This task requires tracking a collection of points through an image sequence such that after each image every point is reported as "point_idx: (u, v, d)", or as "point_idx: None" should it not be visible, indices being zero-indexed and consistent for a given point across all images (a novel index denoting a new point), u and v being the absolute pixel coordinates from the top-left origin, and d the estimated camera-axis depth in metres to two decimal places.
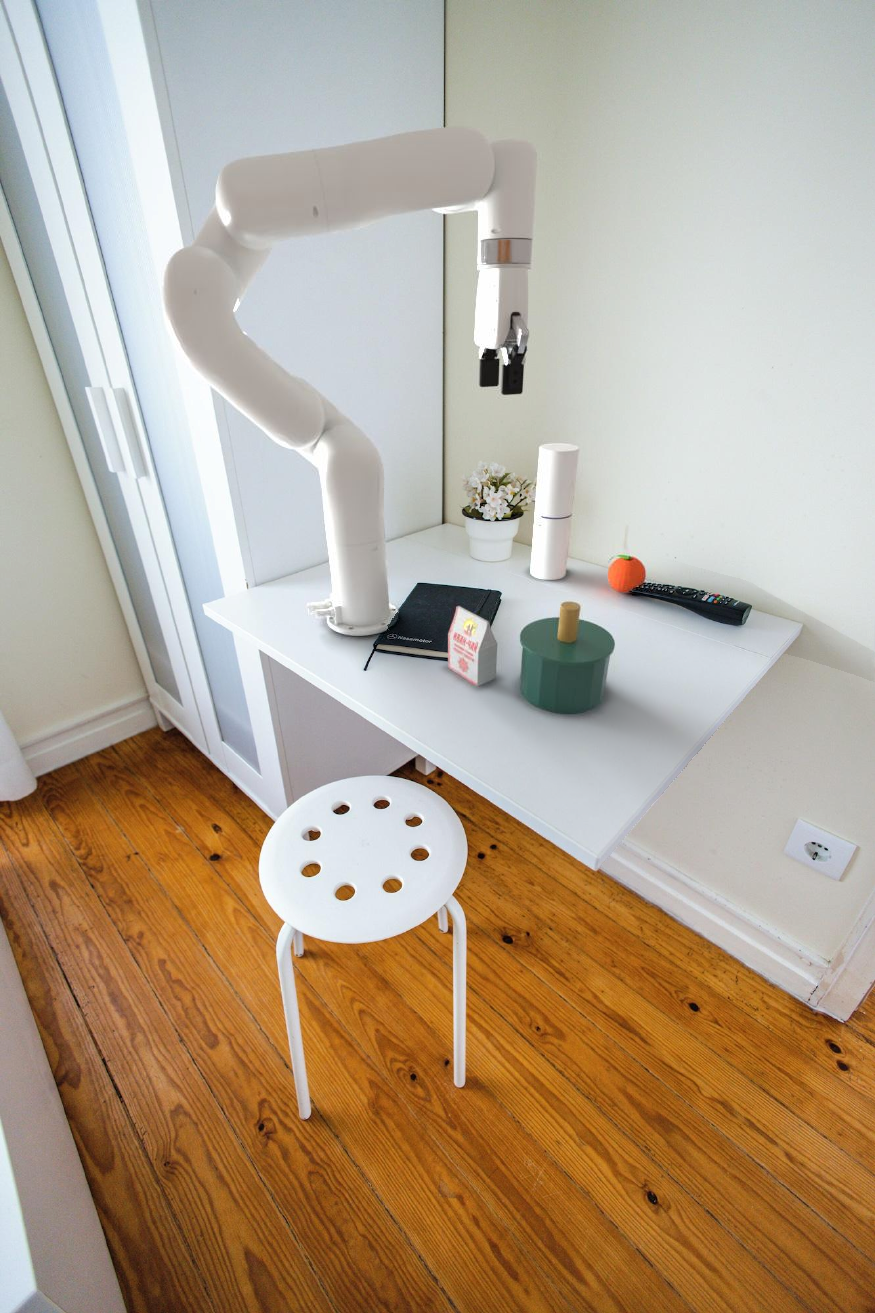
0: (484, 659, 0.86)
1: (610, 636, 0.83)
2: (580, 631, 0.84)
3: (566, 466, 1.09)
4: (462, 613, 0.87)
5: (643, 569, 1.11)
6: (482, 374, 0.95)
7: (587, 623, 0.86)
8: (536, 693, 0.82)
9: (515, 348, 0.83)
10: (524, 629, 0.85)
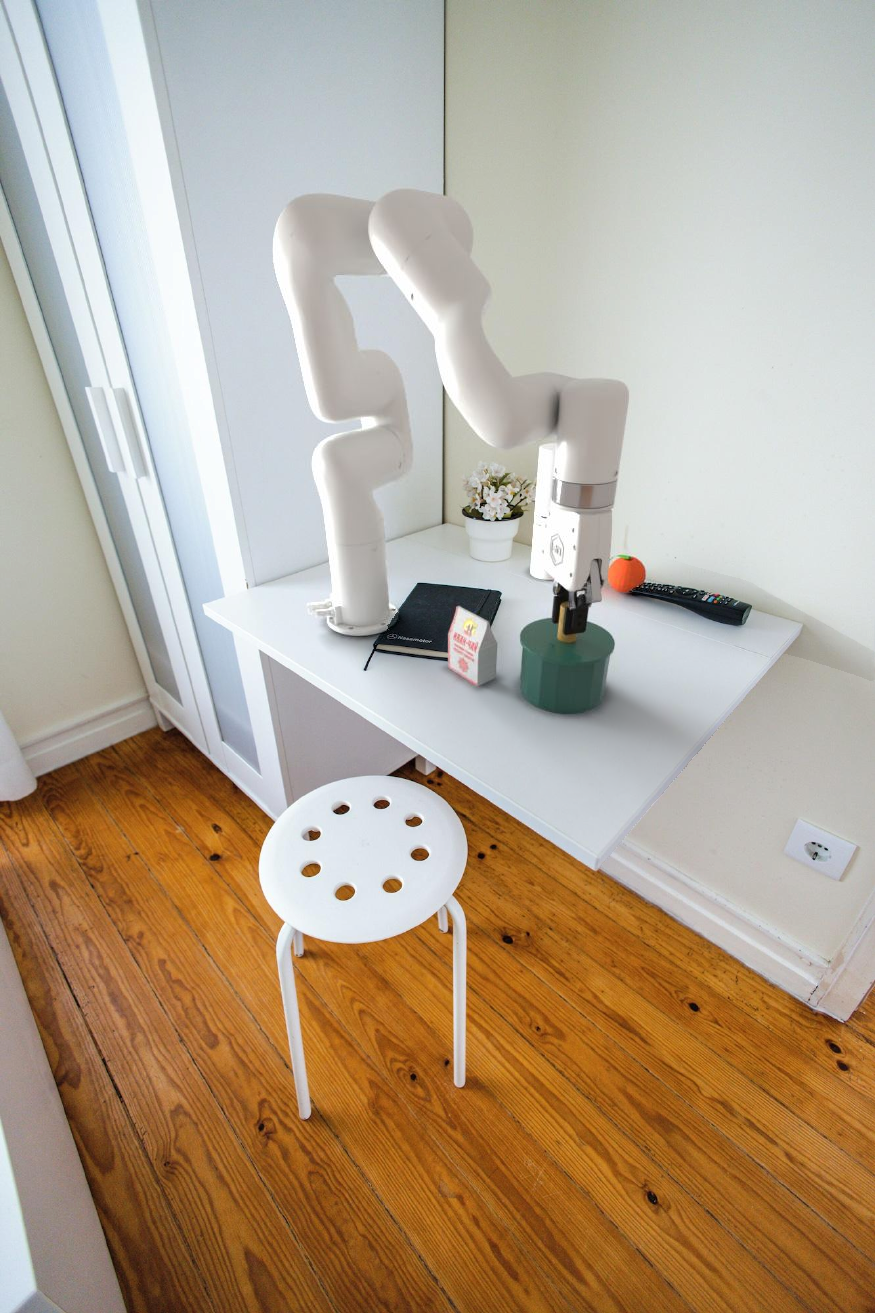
0: (484, 659, 0.86)
1: (610, 636, 0.83)
2: None
3: None
4: (461, 613, 0.87)
5: (643, 569, 1.11)
6: (556, 612, 0.81)
7: (587, 623, 0.86)
8: (536, 693, 0.82)
9: (582, 599, 0.74)
10: (524, 629, 0.85)
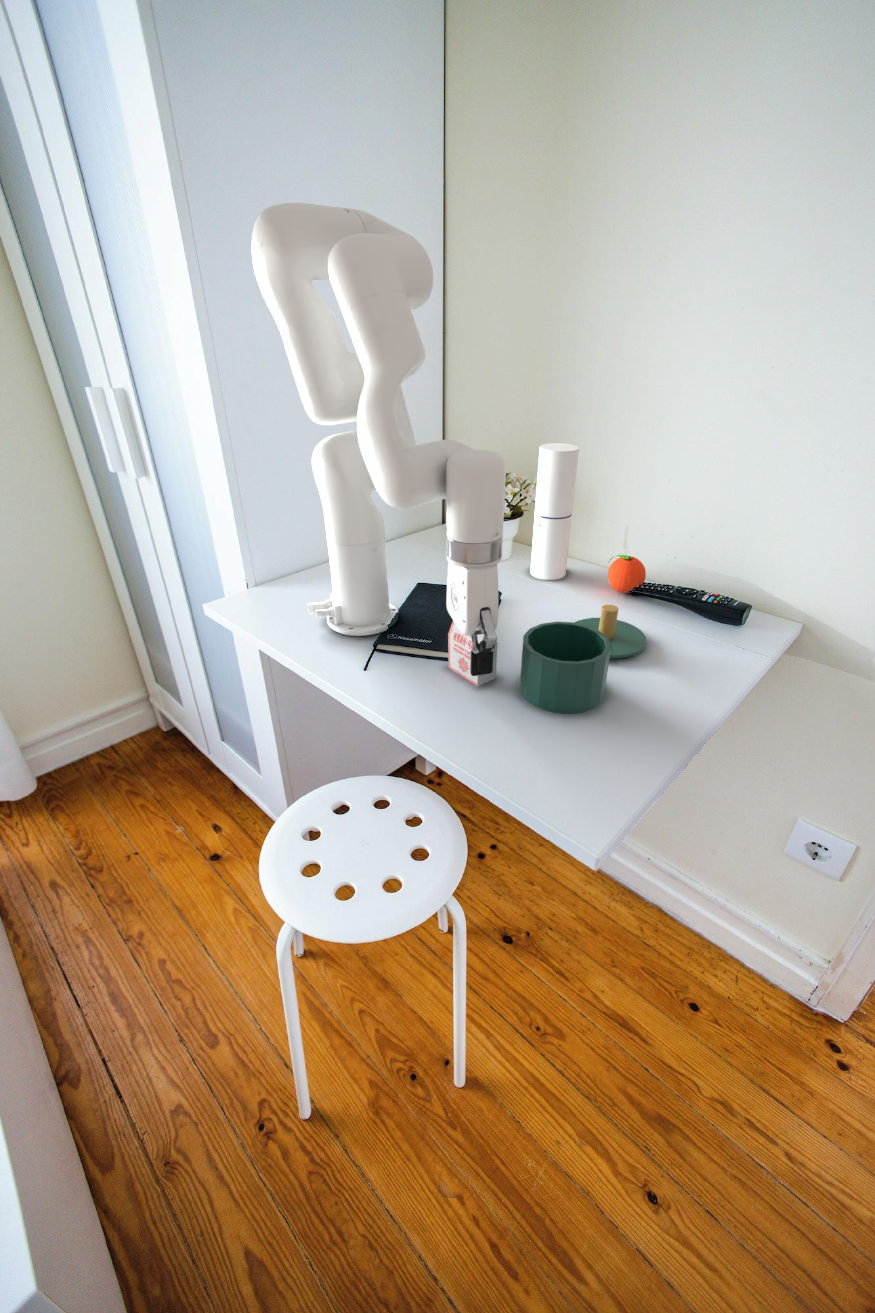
0: None
1: (642, 633, 0.98)
2: (616, 629, 1.00)
3: (566, 466, 1.09)
4: None
5: (643, 569, 1.11)
6: None
7: (622, 623, 1.02)
8: (536, 693, 0.82)
9: (483, 645, 0.81)
10: None
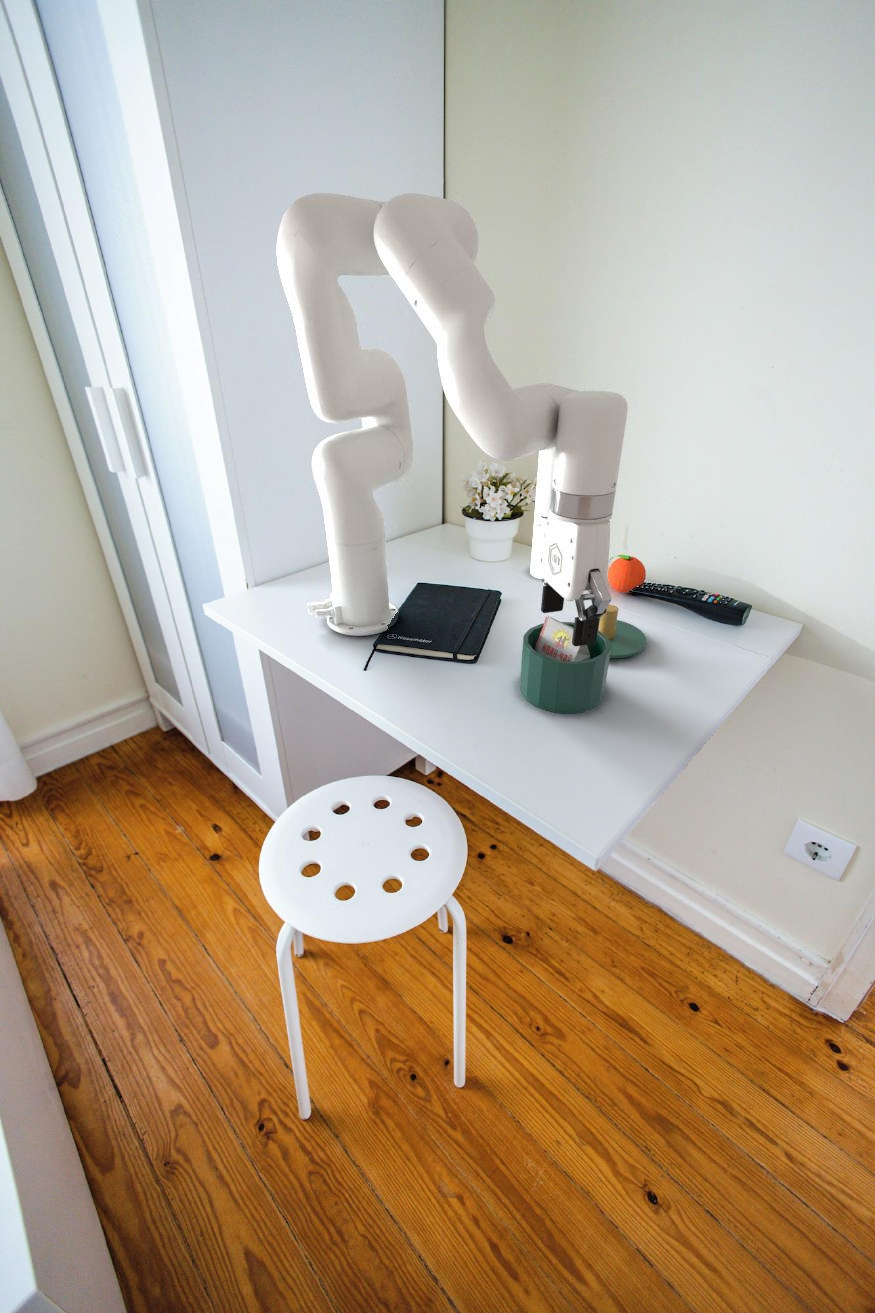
0: None
1: (642, 633, 0.98)
2: (616, 629, 1.00)
3: None
4: (552, 624, 0.83)
5: (643, 569, 1.11)
6: (545, 601, 0.84)
7: (622, 623, 1.02)
8: (536, 693, 0.82)
9: (593, 610, 0.72)
10: None
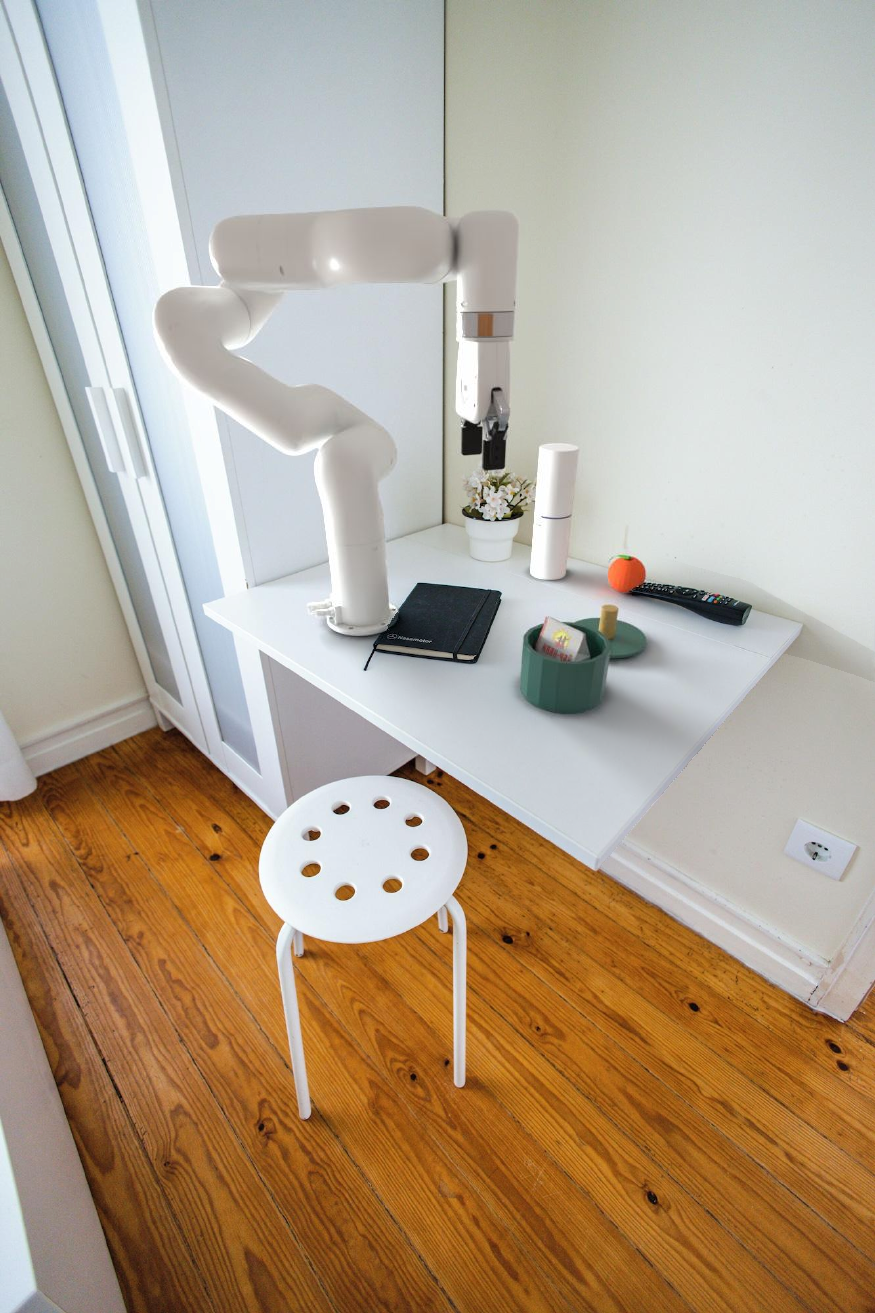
0: None
1: (642, 633, 0.98)
2: (616, 629, 1.00)
3: (566, 466, 1.09)
4: (552, 624, 0.83)
5: (643, 569, 1.11)
6: (464, 443, 0.90)
7: (622, 623, 1.02)
8: (536, 693, 0.82)
9: (496, 426, 0.78)
10: None
